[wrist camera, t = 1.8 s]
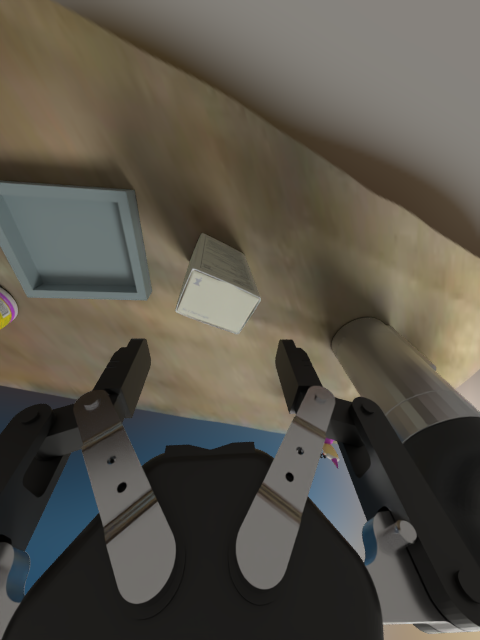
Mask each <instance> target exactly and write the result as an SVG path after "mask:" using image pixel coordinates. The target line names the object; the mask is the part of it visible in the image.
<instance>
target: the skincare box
mask: <svg viewBox="0 0 480 640" xmlns="http://www.w3.org/2000/svg"><path fill="white" fill-rule="evenodd" d="M260 301H261V298H260V295H259V292H258V290H257V287H256V284H255V281H254V279H253V276H252V273H251V271H250V268H249V265H248V263H247V260H246V257H245V255H244V254H243V253H241V252H239V251H237V250H235V249H233V248H232V247H230V246H228V245H226V244H224V243H222V242H220V241H218V240H216V239H214V238H212V237H210V236H208V235H206V234H204V233H201V235H200V237H199V240H198V242H197V244H196V247H195V249H194V252H193V254H192V257H191V259H190V262H189V265H188V269H187V272H186V275H185V278H184V282H183V285H182V288H181V292H180V295H179V299H178V302H177V306H176V310H175V311H176V312H177V313H179V314H182V315H184V316H187V317H189V318H192V319H195V320H197V321H200V322H203V323H205V324H209V325H211V326H214V327H217V328H220V329H223V330H226V331H229V332H231V333H235V334H239V333H240V331H241V330H242V328H243V327H244V325H245V324H246V322H247V321H248V320H249V318H250V316H251V315H252V314H253V312H254V310H255V309H256V307H257V306H258V304H259V303H260Z"/></svg>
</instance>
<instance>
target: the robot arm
mask: <svg viewBox="0 0 480 640" xmlns="http://www.w3.org/2000/svg"><path fill="white" fill-rule="evenodd" d="M332 351H333V353H334V354H335V356H336V358H337V359H338V361H339V362H340V364H341V365H342V367H343V369H344V370H345V372H346V374H347V375H348V377H349V378H350V380H351V382H352V383H353V385H354V386H355V388H356V390H357V391H358V393H359V394H360V396H361V397H357V398H355V399H354V400H353V402H349V401H346V400H342V399H338V398H335V397H334V395H333V394H332V393H331V392H330V391H329V390H328V389H326V388H324V387H323V386H322V384H321V382H320V380H319V378H318V376H317V374H316V372H315V370H314V368H313V367H312V363H311V361H310V359H309V357H308V355H307V353H306V352H305V351H304V350H302V349H301V348H296V346H295V344H294V342H293V340H280V341H279V345H278V349H277V354H276V360H275V363H276V369H277V372H278V376H279V379H280V383H281V386H282V390H283V393H284V397H285V400H286V404H287V407H288V411H289V414H296V416H295V417H294V419H293V420H292V423H291V425H290V427H289V429H288V431H287V433H286V435H285V437H284V439H283V441H282V443H281V446H280V448H279V450H278V452H277V454H276V456H275V458H273V457H272V456H270V455H269V454H267V453H265V452H263V451H261V450H258V449H255V447H254V442H240V443H239V442H238V443H230V444H228V445H224V446H221V447H218V448H215V449H212V450H209V449H204V448H201V447H196V446H192V445H169V446H166V449H165V453H163V454H160V455H158V456H156V457H154V458H152V459H151V460H149V461H148V462H146V463H145V464H144V465H143V466H141V464H140V462H139V460H138V458H137V455H136V453H135V451H134V449H133V447H132V445H131V442H130V440H129V438H128V436H127V434H126V431H125V429H124V427H123V425H122V422H123V420H124V418H132V416H133V413H134V411H135V408H136V405H137V402H138V400H139V397H140V394H141V391H142V388H143V386H144V383H145V380H146V377H147V375H148V372H149V369H150V365H151V358H150V353H149V348H148V344H147V340H146V339H131V340H130V342H129V344H128V345H127V347H121V348H120V349H119V350H118V351H117V352H115V353H114V355H113V356H112V358H111V360H110V362H109V363H108V365H107V366H106V368H105V370H104V372H103V373H102V375H101V377H100V378H99V380H98V382H97V383H96V385H95V387H94V389H93V390H92V391H90V392H87V393H85V394H84V395H82V396H81V397H80V398H79V399H78V400H77V401H76V402H75V403H74V404H72V405H68V406H65V407H61V408H57V409H53V410H52V409H51V407H50V406H49V405H47V404H37V405H33V406H30V407H28V408H26V409H24V410H23V411H21V412H20V413H18V414H17V415H16V416H15V417H14V418H13V419H12V420H11V421H10V423H9V424H8V425H7V426H6V428H5V429H4V430H3V432H2V433H1V434H0V640H384V638H383V624H413V625H414V626H416V627H417V628H418V629H419V630H421V631H423V632H425V633H430V634H432V633H450V632H471V631H480V412H479V411H478V410H477V409H476V408H475V407H474V406H473V405H472V404H471V403H470V402H469V401H468V400H466V399H465V398H464V397H463V396H462V395H461V394H459V392H457V391H456V390H455V389H454V388H453V387H452V386H451V385H450V384H449V383H448V382H447V381H446V380H445V379H443V378H442V377H441V376H440V375H439V374H438V373H437V372H436V366H435V365H434V364H433V363H432V362H431V361H429V360H428V359H427V358H426V357H425V356H424V355H423V354H422V353H421V352H419V351H418V350H417V349H416V348H415V347H414V346H413V345H412V344H410V343H409V342H408V341H407V340H406V339H405V338H404V337H403V336H402V335H400V334H399V333H398V332H397V331H396V330H395V329H394V328H393V327H392V326H390V325H385V324H384V323H383V322H382V321H380V320H378V319H376V318H369V317H366V318H360V319H357V320H354V321H352V322H349V323H348V324H346V325H345V326H343V327H342V328H341V329H340V330H339V331H338V332H337V333H336V335H335V336H334V338H333V341H332ZM326 438H328V439H332V440H335V441H337V443H338V445H339V448H340V450H341V453H342V456H343V458H344V461H345V464H346V466H347V469H348V472H349V474H350V477H351V479H352V482H353V485H354V487H355V490H356V493H357V495H358V498H359V501H360V503H361V506H362V509H363V511H364V514H365V516H366V519H367V522H366V523H365V524H364V526H363V529H362V539H363V544H364V548H365V561H364V562H363V561H362V559H361V558H360V556H359V555H358V553H357V552H356V551H355V550H354V549H353V547H352V546H351V545H350V544H349V543H348V542H347V541H346V539H345V538H344V537H343V536H342V535H341V534H340V533H339V531H338V530H337V529H336V528H335V527H334V526H333V524H332V523H331V522H330V521H329V520H328V519H327V518H326V517H325V515H324V514H323V513H322V512H321V511H320V510H319V508H318V507H317V506H316V505H315V504H314V503H313V502H312V500H311V499H310V498H309V497H308V494H309V490H310V487H311V484H312V481H313V477H314V474H315V471H316V468H317V465H318V461H319V458H320V455H321V451H322V449H323V446H324V442H325V439H326ZM80 449H82V453H83V456H84V460H85V464H86V467H87V470H88V474H89V478H90V481H91V484H92V488H93V492H94V495H95V499H96V503H97V506H98V509H99V513H98V514H97V516H96V517H95V518H94V519H93V520H92V521H91V522H90V523H89V524H88V525H87V526H86V528H85V529H84V530H83V531H82V532H81V533H80V534H79V535H78V536H77V538H75V540H74V541H73V542H72V543H71V544H70V545H69V546H68V547H67V548H66V549H65V551H64V552H63V553H62V554H61V555H60V556H59V557H58V558H57V559H56V561H55V562H54V563H53V564H52V565H51V566H50V567H49V568H48V569H47V570H46V571H45V572H44V574H43V575H42V576H41V577H40V578H39V579H38V580H37V581H36V582H35V584H34V585H33V586H32V587H31V588H30V590H29V591H28V593H27V594H26V595H24V586H25V581H26V579H27V575H28V572H29V568H30V558H29V555H28V554H27V553H26V552H25V549H26V547H27V545H28V543H29V541H30V539H31V537H32V535H33V532H34V530H35V528H36V526H37V524H38V522H39V520H40V517H41V516H42V513H43V511H44V509H45V507H46V505H47V503H48V501H49V498H50V496H51V494H52V492H53V490H54V488H55V486H56V484H57V482H58V480H59V477H60V475H61V473H62V471H63V469H64V467H65V465H66V463H67V460H68V458H69V456H70V454H71V452H74V451H76V450H80Z"/></svg>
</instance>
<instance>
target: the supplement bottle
mask: <svg viewBox="0 0 480 640" xmlns="http://www.w3.org/2000/svg"><path fill="white" fill-rule="evenodd" d="M17 314H18V307H17V304H16V302H15V300H14V299H13V297H12V296H11V295H10V294H9V293H8V292H6V291H5V290H4V289H2V288H1V287H0V329H2V328H3V327H4V326H6V325H7V324H8V323H10V322H11V321H12V320H14V319H15V318H16V316H17Z"/></svg>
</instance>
